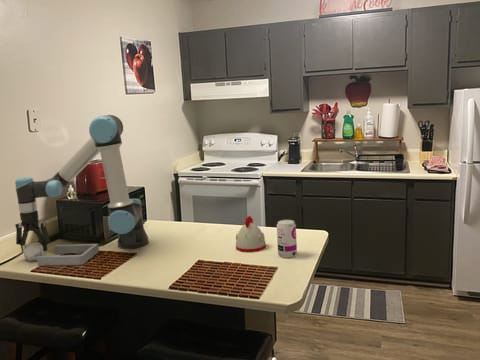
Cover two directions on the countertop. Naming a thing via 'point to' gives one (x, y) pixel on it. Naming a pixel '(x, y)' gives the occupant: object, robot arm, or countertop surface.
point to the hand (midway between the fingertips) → (35, 257)
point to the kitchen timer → (250, 237)
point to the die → (33, 251)
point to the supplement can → (286, 238)
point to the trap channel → (85, 254)
